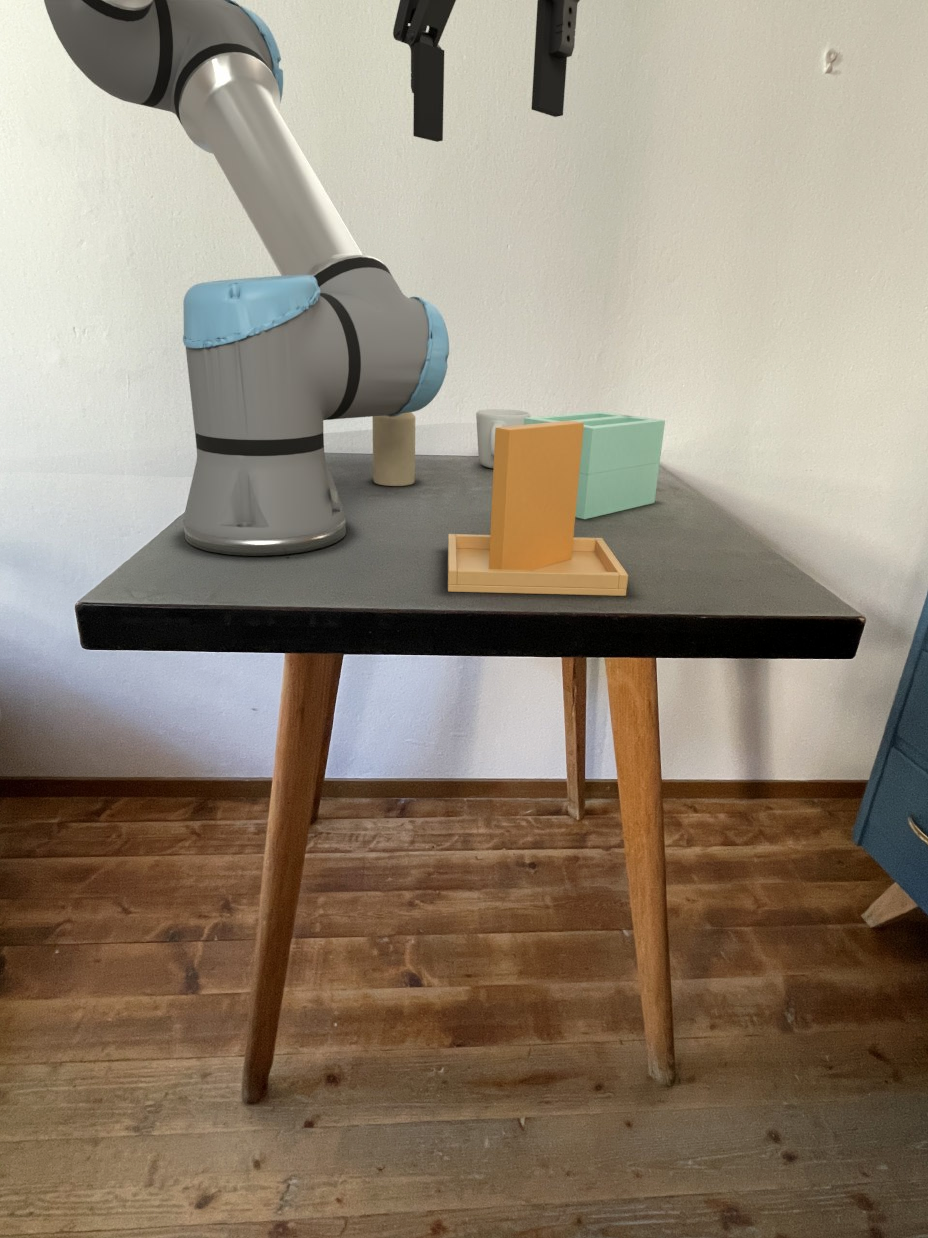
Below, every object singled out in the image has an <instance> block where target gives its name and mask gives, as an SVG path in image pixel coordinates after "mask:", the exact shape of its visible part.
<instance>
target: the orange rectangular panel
mask: <svg viewBox="0 0 928 1238" xmlns="http://www.w3.org/2000/svg"><path fill="white" fill-rule="evenodd" d="M583 427H584V423H583V422H576V421H559V422H549V423H538V424H527V425H517V426H506V427H496V428H495V447H494V468H493V469H492V490H491V491H492V492H491V512H490V534H489V535H490V552H489V569H504V570H534V569H538V568H542V567H545V566H549V565H552V564H556V563H559V562H563V561H566V560H570V559H572V548H573V537H575V525H576V524H575V523H576V517H575V515H576V504H577V493H578V482H579V471H580V460H581V449H582V438H583Z"/></svg>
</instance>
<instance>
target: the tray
mask: <svg viewBox="0 0 928 1238" xmlns="http://www.w3.org/2000/svg"><path fill="white" fill-rule="evenodd" d="M489 552H490V534H467V533H466V534H465V533H448V535H447V592H449V593H485V594H487V593H490V594H492V593H493V594H527V595H528V594H529V595H530V594H531V595H535V594H536V595H567V596H568V595H571V596H572V595H573V596H574V595H575V596H578V595H579V596H613V597H615V596H617V597H618V596H619V597H626V596H627V589H628V581H629V574H628V573H627V571H626V570H625V569H624V567H623V565H622V563H620V561H619V560H618V559H617V557H616V556H615V554H614V553H613V552H612V550H611V549H610V547H609V546H608V545H607V543H606V541H605V540H604V539H603V537H581V536H580V537H579V536H578V537H577V536H574V537H573V548H572V559H570V560H566V561H563V562H559V563H556V564H552V565H549V566H545V567H542V568H538V569H534V570H504V569H489Z"/></svg>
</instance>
